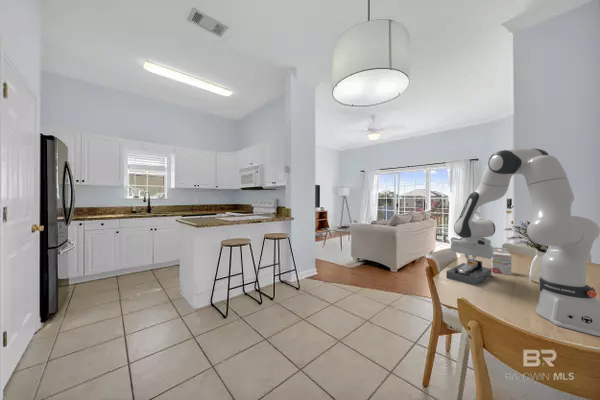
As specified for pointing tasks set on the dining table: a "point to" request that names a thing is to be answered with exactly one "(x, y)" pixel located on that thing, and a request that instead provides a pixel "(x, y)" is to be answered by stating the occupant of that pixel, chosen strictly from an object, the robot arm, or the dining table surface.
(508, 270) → the ink cartridge box
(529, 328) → the dining table surface
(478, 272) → the mounting block
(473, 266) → the clamp lever
